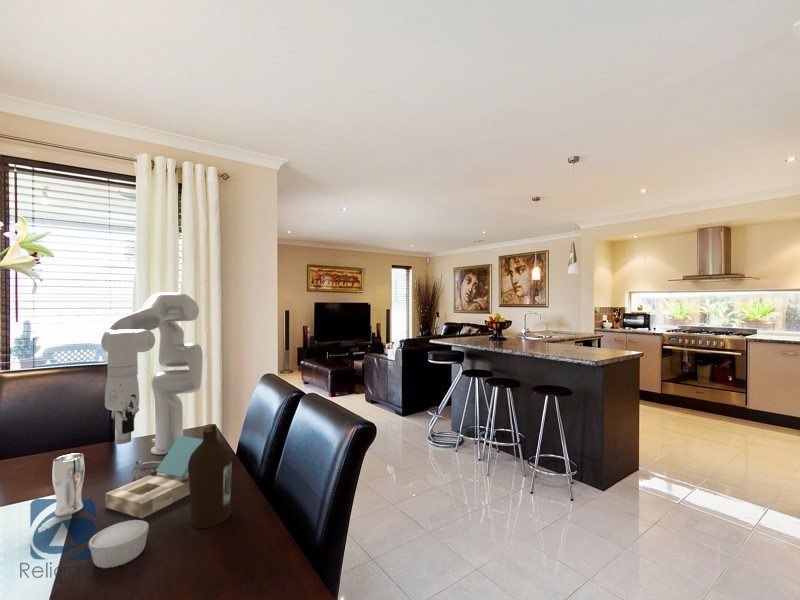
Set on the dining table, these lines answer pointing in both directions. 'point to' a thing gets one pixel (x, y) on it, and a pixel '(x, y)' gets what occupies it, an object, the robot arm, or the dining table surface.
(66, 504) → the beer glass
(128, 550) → the ramekin
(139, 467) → the caliper
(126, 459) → the dining table surface
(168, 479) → the wooden block
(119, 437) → the steel peg
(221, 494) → the olive oil
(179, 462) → the latch flap
